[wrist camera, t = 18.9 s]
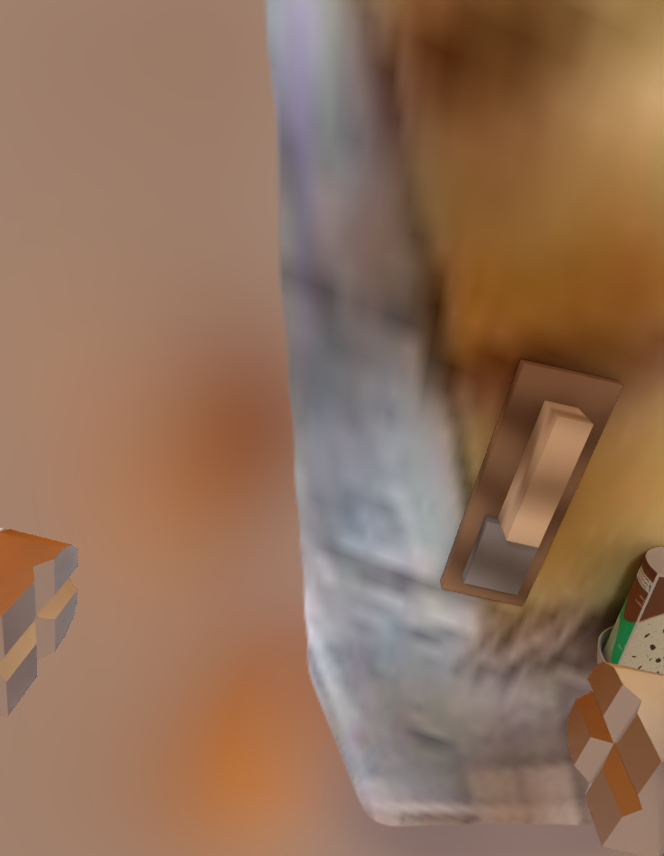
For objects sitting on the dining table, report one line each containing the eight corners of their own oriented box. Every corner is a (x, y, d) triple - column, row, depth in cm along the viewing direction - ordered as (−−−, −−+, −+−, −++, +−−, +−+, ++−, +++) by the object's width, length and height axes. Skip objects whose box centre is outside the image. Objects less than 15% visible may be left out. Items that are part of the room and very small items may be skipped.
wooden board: (520, 359, 38) (524, 363, 37) (617, 380, 38) (623, 385, 37) (440, 580, 46) (441, 588, 45) (520, 598, 46) (522, 606, 45)
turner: (531, 397, 38) (542, 412, 35) (591, 410, 38) (608, 427, 35) (462, 575, 44) (467, 600, 41) (514, 586, 44) (523, 612, 41)
